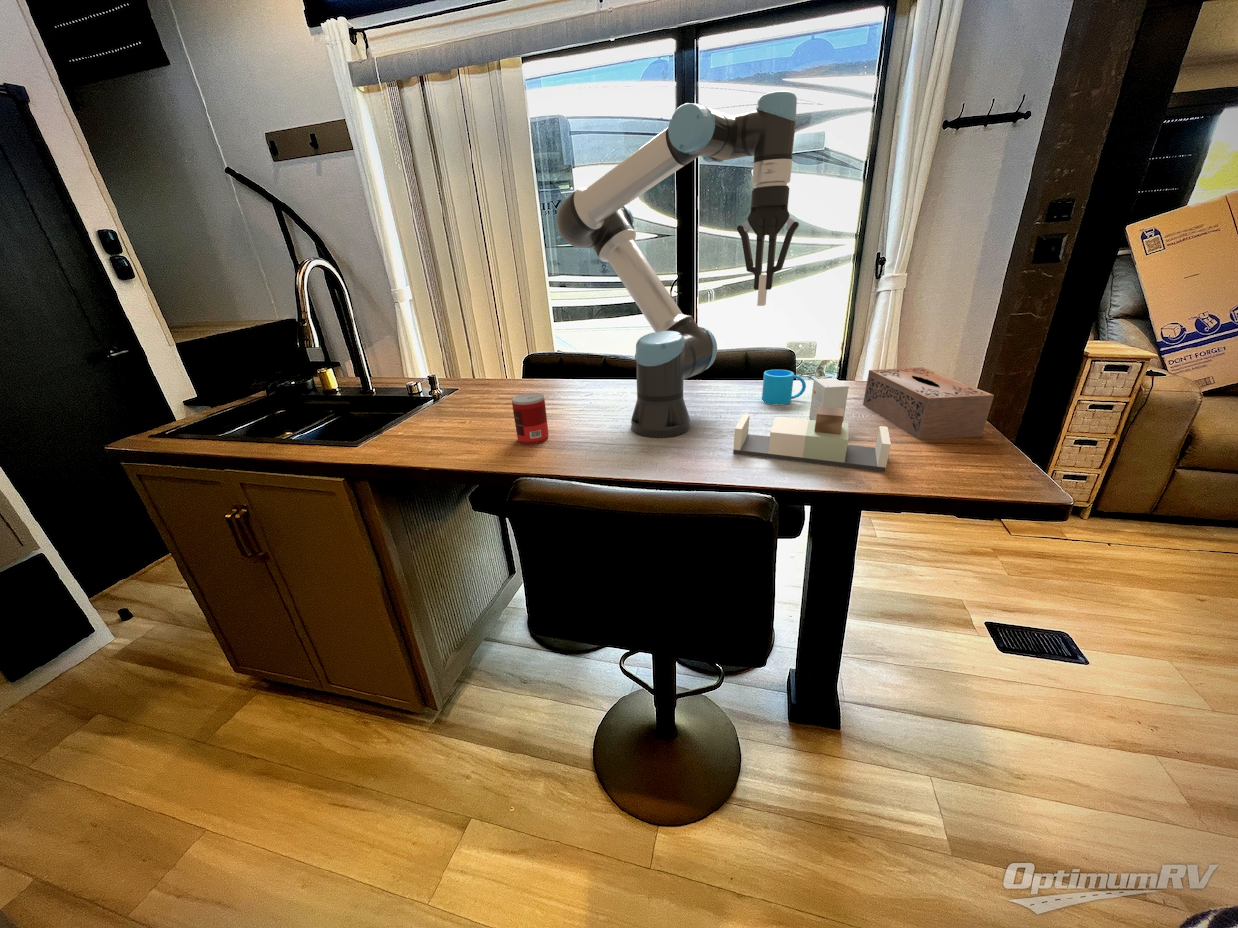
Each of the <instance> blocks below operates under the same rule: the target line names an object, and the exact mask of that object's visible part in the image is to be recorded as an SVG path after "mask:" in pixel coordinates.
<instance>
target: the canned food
mask: <svg viewBox="0 0 1238 928" xmlns="http://www.w3.org/2000/svg"><path fill="white" fill-rule="evenodd" d="M511 404H512V406H511V407H512V412H513V413H512V414H513V418H514V424H515V431H516V437H517V440H518V442H519V443H520V444H522V445H528V446H530V445H537V444H541V443H543V442H545V441H547V439H548V438H549V427H548V426H549V425H548V418H547V417H548V416H547V410H546V401H545V396H544V394H543V393H540V392H526V393H519V394H518V395H515V396H513V397H512V398H511Z"/></svg>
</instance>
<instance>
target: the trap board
mask: <svg viewBox="0 0 1238 928" xmlns="http://www.w3.org/2000/svg"><path fill="white" fill-rule="evenodd" d="M750 417H751V416H750V413H748V414H747V413H742V415H741V417H740V418H739V420H738V422H737V424H736V426H735V427H734V432H733V433H734V434H733V436H734V437H733V455H742V456H751V457H759V458H767V459H774V460H775V459H776V460H783V461H791V462H801V463H805V464H806V463H808V464H815V465H816V464H817V465H824V466H832V467H833V466H834V467H840V468H848V469H854V470H855V469H857V470H866V471H872V472H881V473H886V469H887V465H888V459H889V457H890V456H889V455H890V451H891V445H892V443H891V438H890V437H891V436H890V434H889V429H888V426H883V425H879V427H878V430H877V431H878V432H877V437H876V440H875V447H873V446H872V447H871V446H863V445H853V444H849V422H843V423H842V428H841V434H840V435H839V434H829V433H819V432H814V431H815V423H816V420H811V419H804V418H794V417H785V416H784V417H783V416H776V417H775V419H774V422H773V424H772V427H771V430H770V434H769V436H768V435H767V436H766V435H759V434H749V429H750V427H749V426H750Z"/></svg>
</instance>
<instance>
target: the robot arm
mask: <svg viewBox="0 0 1238 928" xmlns="http://www.w3.org/2000/svg"><path fill="white" fill-rule="evenodd" d="M797 101H798V98H797V95H796V94H795V93H793V92H792V91H790V90H779V91H772V92H771V91H770V92H767V93H765V94H763V95H761V96H760V97H759V98H757V103H756V107H755V108H756V109H755V110H753V111H750V112H745V113H741V114H735V115H730V114H728V113H725V112H721V111H719V110H716V109H714V108H713V109H712V108H710V107H708V106H706V105H705V104H701V103H692V102H691V103H690V102H686V103H684V104H681V105H680V106H678V107H677V108H676V110H675V111H674V112H673V114H672V117H670V120H669V123H668V127H666V128H665V129H664V130H662V131H661V132H660V133H658V134H657V135H655V136H654V137H653V138H651V139H650V140H649V141H648V142H646V143H645V144H644V145H642V146H641V147H640V148H639V149H637V150H635V152H633V153H632V154H631V155H629V156H628V157H627V158H625V159H623V160H622V161H621V162H620V163H619V164H617V165H616V166H614V167H613V168H612V169H610V170H609V171H608V172H606V173H605V174H604V175H603V176H602V177H600V178H599V179H597V180H596V181H594V182H593V183H592V184H591V185H589V186H588V187H583V186H581V187H578V189H576V190H575V191H574V192H572V193H571V194H570V195H568V197H566V198H565V199H564V200H563V201H562V203H561V204H560V206H559V207H558V210H557V215H556V225H557V230H558V233H559V234H560V236H561V238H562V239H563V240H564V241H565V242H566V243H567V244H568V245H570V246H572V247H574V248H577V249H578V248H579V249H591V248H592V249H593V251H594V252H595V254H596V255H597V257H598V259H599V260H600V261H601V262H604V263H609V265H610V266H611V267H612V269H613V271H614V272H615V273H616V275H617V277H618V278H619V280H620V281H621V283H622V284H623V286H624V288H625V289H626V290H627V291H628V293H629V295H630V296H631V298H632V300H633V301H634V302H635V304H636V305H637V307H638V308H639V310H640V311H641V313H642V315H643V316H644V317H645V320H646V321H647V322H648V323H649V325H650V327H651V328H652V330H653V331H654V332H651V333H650V332H649V333H648V334H644V335H642V336H640V337H639V338H638V340H637V341H636V343H635V355H634V358H635V369H636V370H635V372H636V374H635V375H636V402H635V405H634V408H633V412H632V416H631V419H630V423H631V424H630V427H631V430H632V431H633V433H635V434H637V435H640V436H643V437H650V438H669V437H676V436H679V435H682V434H684V433H686V432H688V430H690V427H691V426H690V425H691V420H690V419H691V417H690V415H689V412H688V408H687V405H686V403H685V402H686V401H685V399H684V380H687V379H688V378H691V377H694V376H696V375H700V374H701V373H703V372H704V371H706V370H708V369H709V368H710V367H711V366H712V365H713V364H714V362H715V360H716V357H717V352H718V343H717V340H716V338H715V335H714V334H713V333H712V332H711V331H710V330H709V329H707V328H705V327H703V326H699V325H698V324H697V323H696V321H695V320H694V318H693V316H692V315H689V314H688V315H687V314H684V313H683V312H682V311H681V309H680V307H679V306H678V305H677V302H676V301H675V300H674V299H673V297H672V295H671V294H670V293H669V290H668V289H666V287H665V285H664V284H663V282H662V281H661V279H660V278H659V276H658V275H657V273H656V271H655V270H654V269H653V267H652V266H651V264H650V263H649V261H648V260H647V258H646V257H645V255H644V253H643V252H642V250H641V248H640V247H639V245H638V244H637V243H636V242H635V241H636V236H637V234H636V231H635V225H634V222H635V220H634V216H633V213H632V211H631V210H630V209H629V207H628V206H627V205H628V204H630V203H631V202H632V201H634V200H636V199H637V198H638V197H640V196H642V195H643V194H644V193H646V192H647V191H649V190H650V189H652V188H653V187H655V186H656V185H658V184H659V183H661V182H662V181H664V180H666V179H667V178H668V177H670V176H672V175H673V174H674V173H675V172H677V171H679V170H680V169H682V168H683V167H685V166H687V165H688V164H689V163H691V162H693V161H694V160H695V159H697V158H699V157H702V160H703V161H705V162H707V163H712V162H717V163H721V162H724V161H728V160H734V159H740V158H744V157H753V169H752V170H753V171H752V181H751V183H752V186H753V187H754V188H753V189H752V190H751V199H750V212H749V215H748V216H747V220H746V221H744V222H743V223H741V224H740V225H737V226H736V231H737V232H738V234H739V236H740V239H741V244H742V250H743V255H744V262H745V268H746V271H747V272H748V273H752V274H753V275H754V276H753V277H754V280H753V289H754V290H755V291H758V292H757V303H756V306H757V307H764V306H765V305H766V304H767V292H768V291H770V290H772V288H773V283H774V282H773V279H774V274H775V273H777V272H780V271H781V270H782V269H783V267H784V264H785V260H786V258H787V254H788V252H789V250H790V249H789V248H790V246H791V245H790V244H791V242H792V239H793V236H794V234H795V232H796V231H797V229H798V228H799V227H800V223H799V221H795V220H794V219H792V218H791V217H790V216H791V215H790V212H789V210H788V209H789V199H790V198H789V197H790V187H789V185H788V184H789V183H790V182H791V175H792V166H793V151H794V150H793V149H794V142H795V132H796V131H795V130H796V125H797V124H796V123H797V107H798V106H797V104H798V102H797ZM785 225H786V227H785V229H786V230H787V231H786V234H785V237H784V239H783V242H782V246H781V249H780V253H779V255H778V258H777V260H776V259H775V258H776V249H777V247H776V245H777V237H778V234H779V233H780V232H781V230H782V229H783V227H784V226H785ZM750 227H751V228H752V231H753V233H754V234H755V236H756V244H755V245H756V247H755V258H754V259H755V261H753V255H752V248H751V247H752V246H751V242H750V236H749V232H750ZM766 236H768V248H767V260H766V261H767V262H766V273H763V261H764V258H763V257H764V248H765V247H764V246H765V238H766ZM775 260H776V261H777V262H776V265H775Z"/></svg>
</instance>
